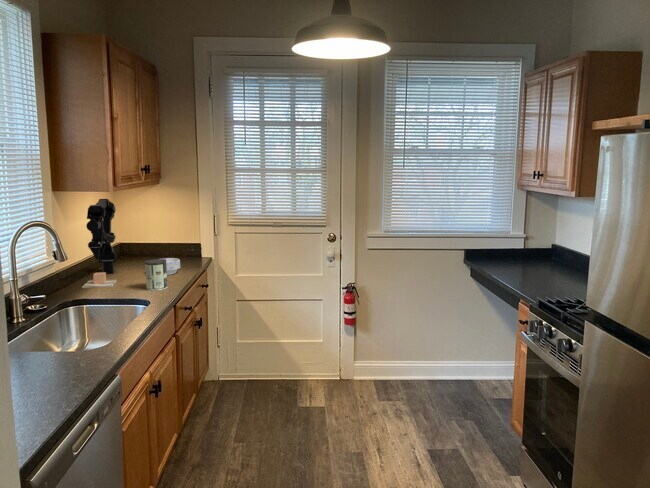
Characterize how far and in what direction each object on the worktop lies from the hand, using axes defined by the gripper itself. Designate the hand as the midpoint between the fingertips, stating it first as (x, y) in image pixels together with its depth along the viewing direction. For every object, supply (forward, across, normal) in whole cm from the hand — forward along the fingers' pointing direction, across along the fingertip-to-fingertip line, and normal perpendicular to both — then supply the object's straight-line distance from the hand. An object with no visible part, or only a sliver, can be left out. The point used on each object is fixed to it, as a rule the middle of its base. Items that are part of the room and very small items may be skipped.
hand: (99, 257), depth 277 cm
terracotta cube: (+11, -11, -2) cm, 16 cm away
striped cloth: (+12, -11, -2) cm, 16 cm away
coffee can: (+12, -24, -32) cm, 42 cm away
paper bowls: (+12, +10, -33) cm, 37 cm away
